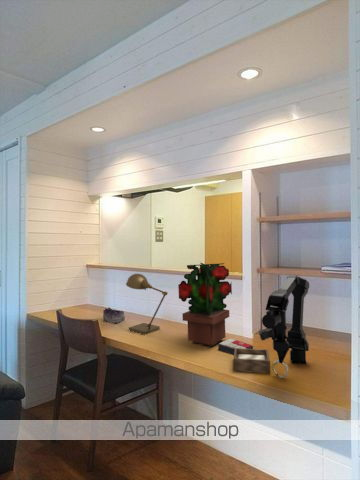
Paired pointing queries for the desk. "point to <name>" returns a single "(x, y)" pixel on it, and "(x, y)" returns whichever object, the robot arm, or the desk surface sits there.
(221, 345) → the calculator
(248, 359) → the base
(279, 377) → the ring
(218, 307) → the potted plant
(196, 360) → the desk surface
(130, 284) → the lamp
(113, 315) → the geode
